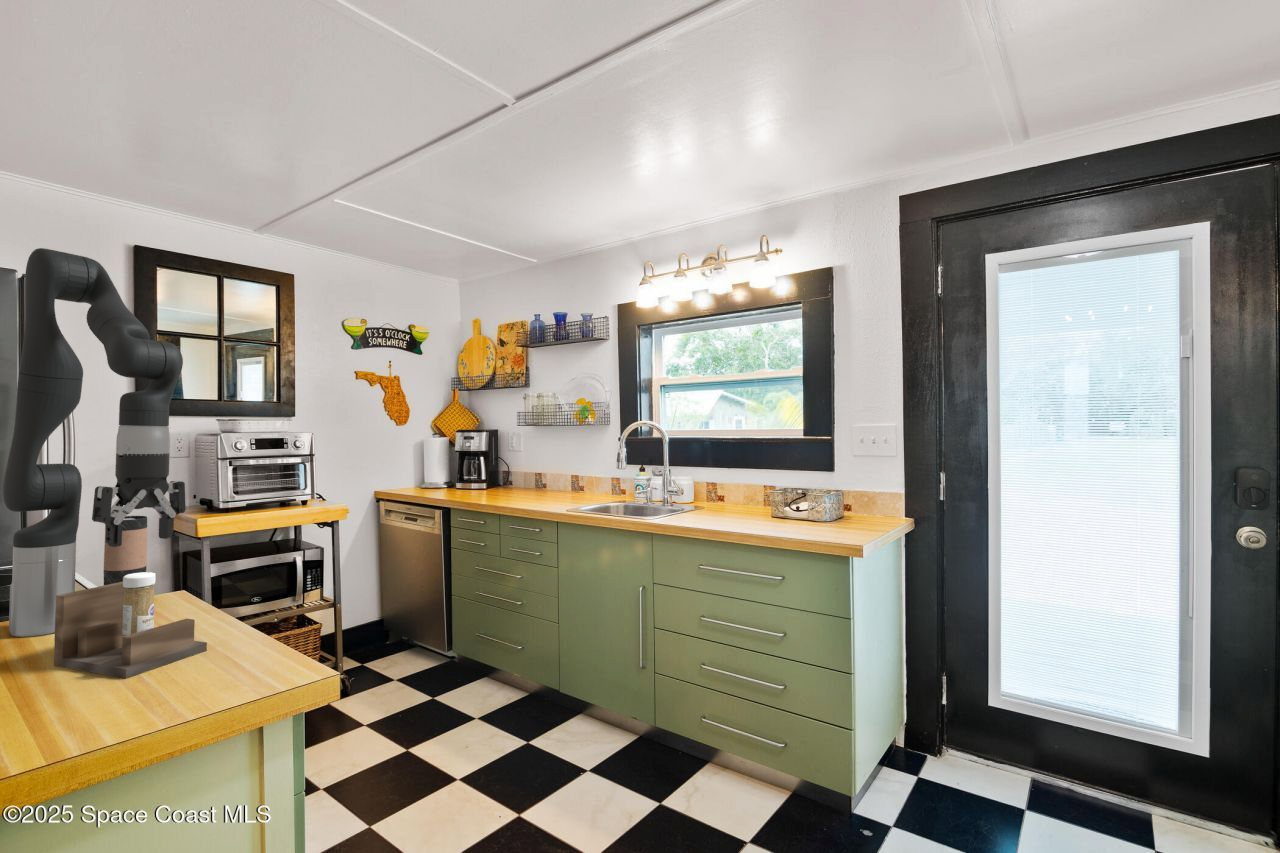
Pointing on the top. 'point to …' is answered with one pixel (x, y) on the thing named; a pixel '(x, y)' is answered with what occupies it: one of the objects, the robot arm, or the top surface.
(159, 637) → the wooden tiered slot stand
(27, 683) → the top surface
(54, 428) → the robot arm
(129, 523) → the travel mug
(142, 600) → the sprinkles bottle
